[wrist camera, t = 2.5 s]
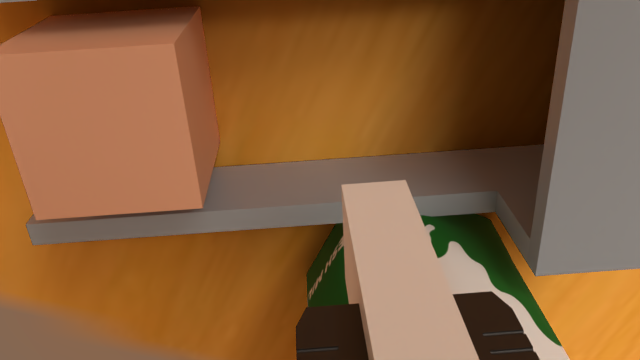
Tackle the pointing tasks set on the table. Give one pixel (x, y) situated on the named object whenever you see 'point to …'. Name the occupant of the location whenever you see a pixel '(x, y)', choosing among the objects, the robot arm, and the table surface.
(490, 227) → the milk carton
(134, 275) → the table surface
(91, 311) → the table surface
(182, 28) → the block
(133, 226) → the chute
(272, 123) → the table surface
